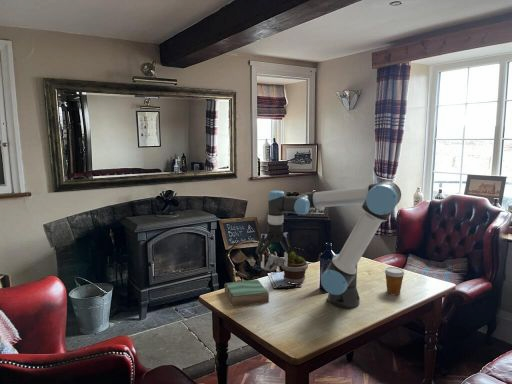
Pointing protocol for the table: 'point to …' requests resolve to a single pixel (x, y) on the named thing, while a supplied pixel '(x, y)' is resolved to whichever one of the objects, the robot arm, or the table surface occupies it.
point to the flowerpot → (295, 269)
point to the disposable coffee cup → (394, 280)
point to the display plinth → (246, 293)
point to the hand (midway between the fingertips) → (274, 266)
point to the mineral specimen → (273, 262)
